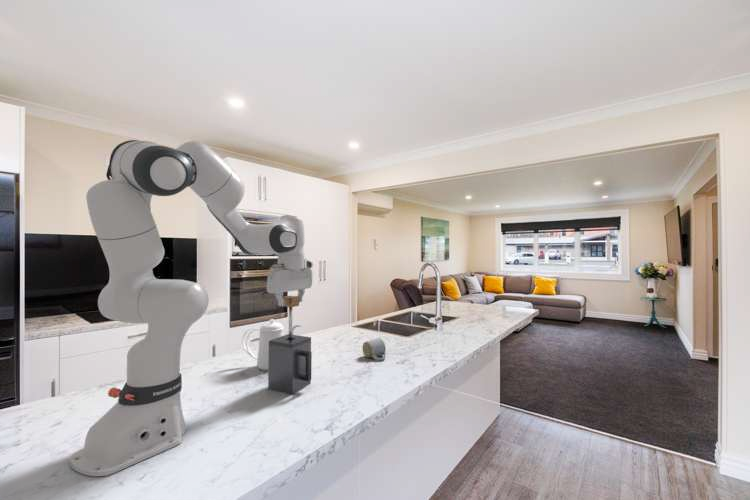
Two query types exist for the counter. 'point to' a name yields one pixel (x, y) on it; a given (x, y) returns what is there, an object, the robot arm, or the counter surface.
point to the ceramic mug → (374, 349)
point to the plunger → (291, 302)
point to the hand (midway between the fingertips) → (290, 303)
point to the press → (289, 364)
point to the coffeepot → (266, 341)
